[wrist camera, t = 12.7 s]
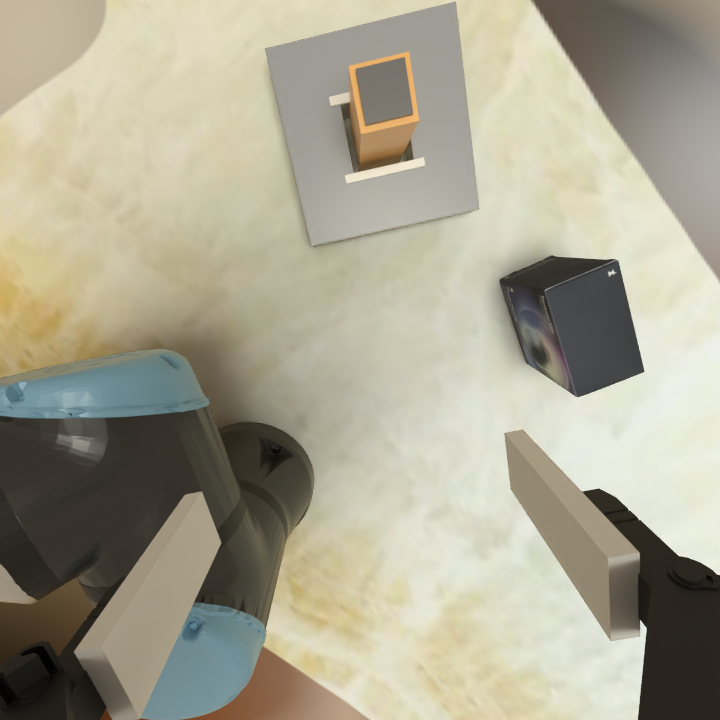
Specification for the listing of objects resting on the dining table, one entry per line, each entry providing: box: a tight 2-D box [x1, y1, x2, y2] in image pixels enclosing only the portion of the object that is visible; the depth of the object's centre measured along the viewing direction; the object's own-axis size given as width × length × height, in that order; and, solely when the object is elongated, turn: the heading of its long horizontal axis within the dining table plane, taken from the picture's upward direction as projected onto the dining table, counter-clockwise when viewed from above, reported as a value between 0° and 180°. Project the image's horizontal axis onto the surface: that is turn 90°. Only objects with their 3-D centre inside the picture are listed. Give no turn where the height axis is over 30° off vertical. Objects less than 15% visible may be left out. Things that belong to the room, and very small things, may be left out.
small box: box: [500, 256, 644, 397], centre depth 36 cm, size 11×6×10 cm, turn 24°
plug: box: [348, 52, 419, 171], centre depth 30 cm, size 4×4×12 cm
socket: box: [265, 2, 479, 247], centre depth 34 cm, size 16×16×4 cm
